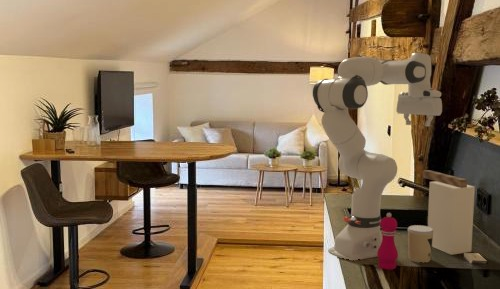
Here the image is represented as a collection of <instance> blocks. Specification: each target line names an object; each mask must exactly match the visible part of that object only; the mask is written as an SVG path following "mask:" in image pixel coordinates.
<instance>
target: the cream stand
mask: <svg viewBox="0 0 500 289" xmlns="http://www.w3.org/2000/svg"><path fill="white" fill-rule="evenodd" d="M428 188H429V190H428V192H429V193H428V208H427V209H428V210H427V211H428V212H427V213H428V214H427V215H428V216H427V226H428V227H431V228H432V229H433V231H434V233H433V240H432V248H435V249H437V250H439V251H441V252H443V253H446V254H448V255H450V256H451V255H452V256H453V255H457V254H459V255H461V254H464V253H466V254H467V253H471V252H472V244H473V243H472V242H473V229H474V228H473V226H474V209H475V207H474V206H475V192H476V191H475V190H476V186H474V185H470V184H467V187H463V188H460V187H456V186H452V185H449V184H445V183H441V182H437V181H434V180H433V181H429V187H428Z"/></svg>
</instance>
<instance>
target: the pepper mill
mask: <svg viewBox="0 0 500 289" xmlns="http://www.w3.org/2000/svg"><path fill="white" fill-rule="evenodd" d="M397 228H398V222H397V220H396V218H394V217H392V213H391V212H387V213H386V216H384V217H383V218H382V217H381V222H380V231H381V236H382V243H381V245H380V247H379V249H378V253H377V256H378V259H379V260H378V262H377V263H378V264H377V265H378V267H379V268H380V269H383V270H394V269H396V268H397V259H398V257H399V252H398V250H397V247H396V244H395V235H396V232H397V231H396V230H397Z"/></svg>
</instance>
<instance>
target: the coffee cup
mask: <svg viewBox="0 0 500 289" xmlns="http://www.w3.org/2000/svg"><path fill="white" fill-rule="evenodd" d="M433 233H434V231H433V229H432V228H431V227H428V225H421V224H419V225H418V224H417V225H416V224H414V225H410V226H408V227H407V248H408V249H407V250H408V259H409V260H410V261H411V262H414V263H419V262H423V264H424V262H426V263H428V262H430V261H431V258H432V257H431V256H432V248H433V247H432V240H433Z"/></svg>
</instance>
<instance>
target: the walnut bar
mask: <svg viewBox="0 0 500 289" xmlns="http://www.w3.org/2000/svg"><path fill="white" fill-rule="evenodd" d="M422 178H423V179H426V180H430V181H433V182H434V181H437V182H441V183H445V184H449V185H452V186H456V187H460V188H463V187H467V185H468V179H467V178H463V177H459V176H454V175H450V174H446V173H442V172H439V171H436V170H435V171H434V170H429V169H428V170H427V169H425V170H423V171H422Z"/></svg>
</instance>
